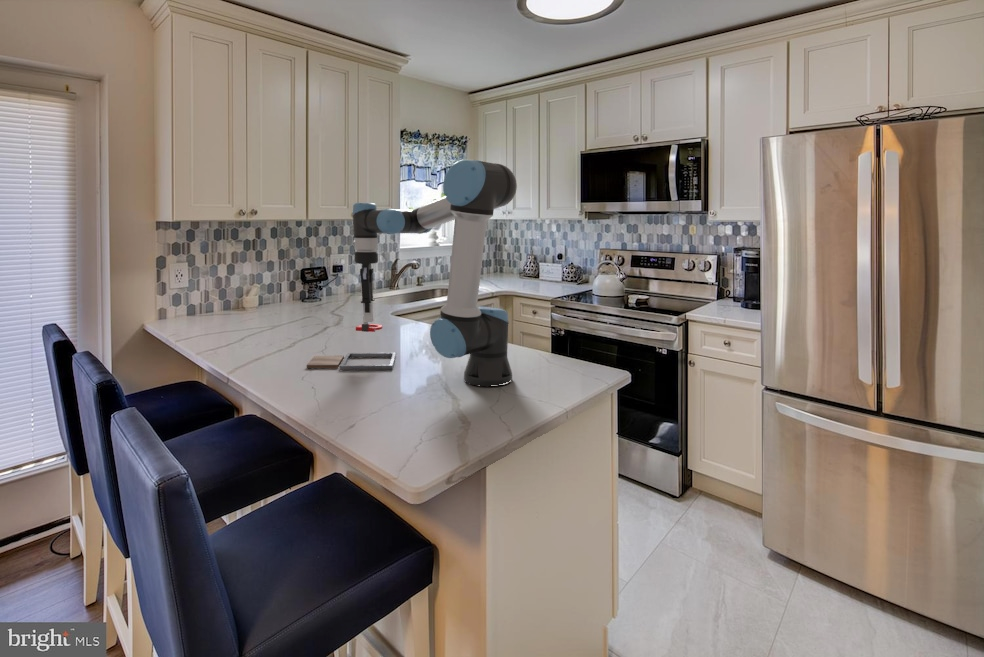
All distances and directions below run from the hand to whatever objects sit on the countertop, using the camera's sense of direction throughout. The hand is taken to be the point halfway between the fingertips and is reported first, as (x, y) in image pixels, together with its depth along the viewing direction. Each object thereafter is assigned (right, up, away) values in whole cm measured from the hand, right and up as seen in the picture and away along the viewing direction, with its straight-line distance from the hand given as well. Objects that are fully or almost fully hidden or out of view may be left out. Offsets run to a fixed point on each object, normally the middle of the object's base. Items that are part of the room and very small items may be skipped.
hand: (368, 321), depth 176 cm
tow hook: (-1, -3, +4) cm, 5 cm away
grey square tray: (0, -14, +3) cm, 15 cm away
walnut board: (-15, -14, +1) cm, 21 cm away
